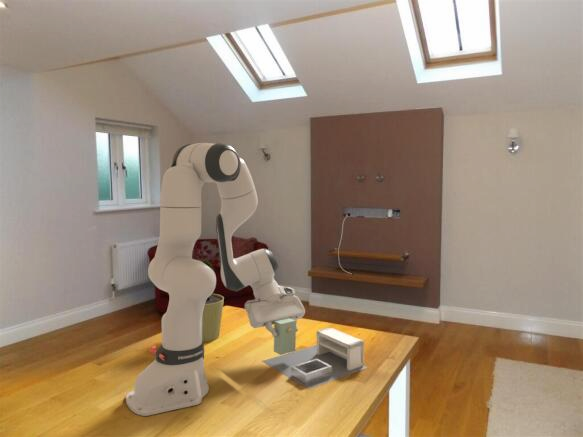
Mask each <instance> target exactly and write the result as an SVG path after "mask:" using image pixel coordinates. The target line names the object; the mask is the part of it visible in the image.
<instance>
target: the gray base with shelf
mask: <svg viewBox="0 0 583 437" xmlns="http://www.w3.org/2000/svg"><path fill="white" fill-rule="evenodd" d="M364 348H365V341H364V340H362V339H360V338H358V337H356V336H355V337H354V336H352V335H351V334H347V333H346V332H342V331H341V330H338V329H335V328H332V327H326V328H322V329H319V330H316V344H315V345H311V346H309V347H306V348H305V347H304V348H302V349H298V350H295V351H293V352H289V353H286V354H282V355H278V356H275V357H272V358H268V359H264V360H262V363H264V364H266V365H268V366H269V367H270V368H272V369H274V370H276V371H277V372H279V373H281V374H283V375H284V376H285V377H287V378H289V379H291V380H292V381H294V382H295V383H297V384H299V385H301V386H302V387H303V388H306V389H307V390H311V389H314V388H316V387H319V386H322V385H325V384H328V383H331V382H333V381H336V380H339V379H341V378H343V377H346V376H350V375H352V374H354V373H358V372H360V371H363V370H366V369H368V368H369V367H367V366H365V365H364V360H365V359H364V354H365V350H364ZM314 359H319V360H321V361H323V362H325V363H327V364H329V365H331V366H332V376H330V377H327V378H324V379H322V380H319V381H316V382H313V383H310V384H307V385H305V384H303V383H301V382H300V381H298V380H296V379H295V378H293V377H291V367H292V366H295V365H298V364H301V363H304V362H307V361H311V360H314ZM316 370H317V369H316ZM313 371H315V370H313ZM310 372H312V371H310ZM307 373H309V372H307Z"/></svg>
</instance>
